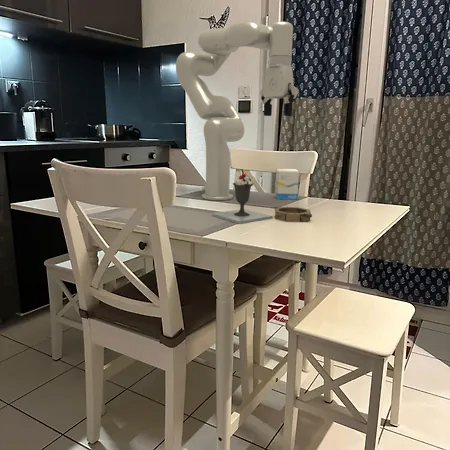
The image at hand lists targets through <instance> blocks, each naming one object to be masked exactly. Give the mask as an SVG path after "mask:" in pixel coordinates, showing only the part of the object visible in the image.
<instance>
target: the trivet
mask: <svg viewBox="0 0 450 450" xmlns="http://www.w3.org/2000/svg"><path fill="white" fill-rule="evenodd" d="M239 211H240V209H233V210H227V211H220V212H219V211H218V212H212V213H211V217H214V218H218V219H222V220H225V221H228V222H230V223H231V222H232V223H234V224H237V225H242V224H247V223H248V224H249V223H254V222H261V221H265V220H270V219H273V217H274V216H273V215H271V214H266V213H262V212H258V211H255V210H250V209H246V208H244V211H245V212H246V213H248V214H249V215H248V216H236V215H234V214H235V213H238V212H239Z"/></svg>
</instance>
